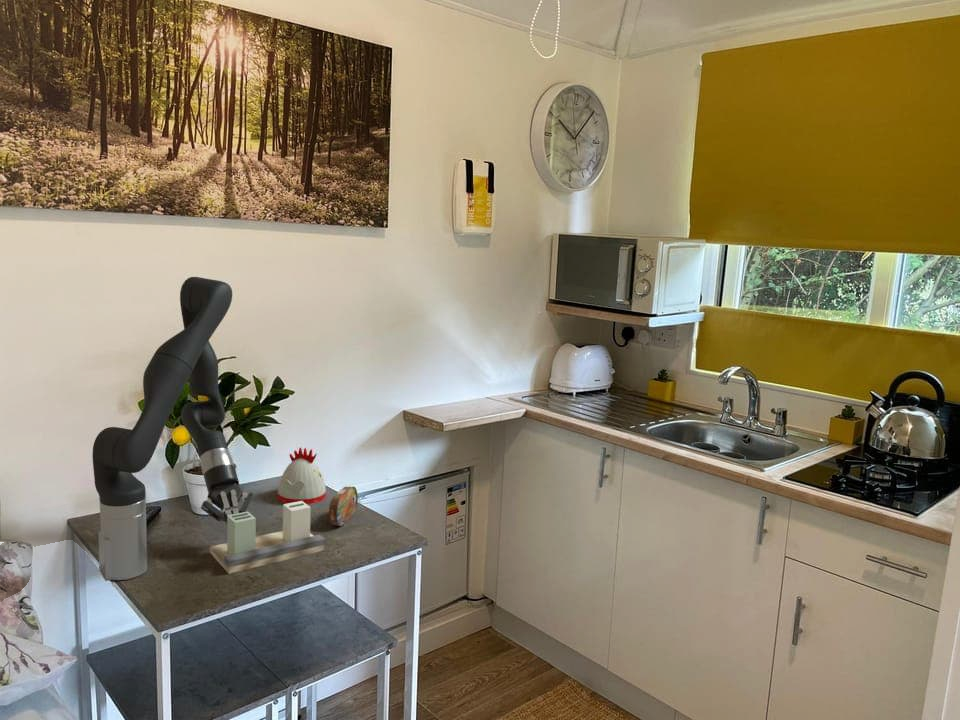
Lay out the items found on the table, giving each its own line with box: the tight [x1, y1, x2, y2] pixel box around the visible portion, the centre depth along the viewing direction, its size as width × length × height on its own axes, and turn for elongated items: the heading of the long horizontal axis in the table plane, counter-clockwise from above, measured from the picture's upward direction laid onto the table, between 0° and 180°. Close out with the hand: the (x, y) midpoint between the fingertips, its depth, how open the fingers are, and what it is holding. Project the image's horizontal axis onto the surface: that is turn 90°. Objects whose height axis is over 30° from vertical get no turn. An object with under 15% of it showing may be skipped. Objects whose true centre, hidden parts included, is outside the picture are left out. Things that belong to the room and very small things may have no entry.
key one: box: [282, 501, 311, 542], centre depth 181 cm, size 5×5×9 cm
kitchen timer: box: [277, 446, 327, 505], centre depth 215 cm, size 14×14×15 cm
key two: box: [226, 511, 257, 555], centre depth 172 cm, size 5×5×9 cm
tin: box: [328, 486, 359, 527], centre depth 200 cm, size 15×3×8 cm, turn 168°
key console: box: [209, 530, 326, 575], centre depth 178 cm, size 24×13×3 cm, turn 128°
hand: (236, 533), depth 175 cm, fingers closed
